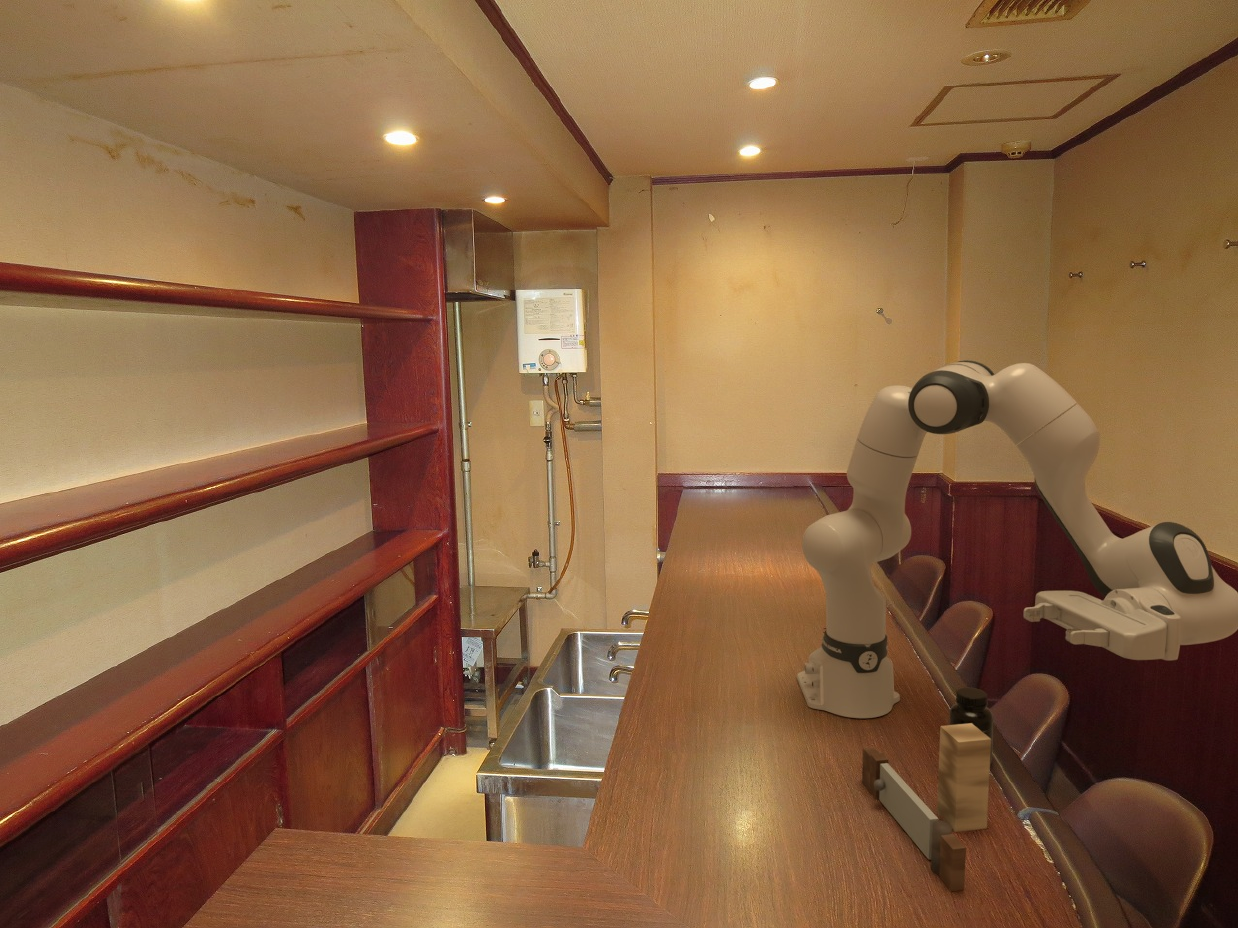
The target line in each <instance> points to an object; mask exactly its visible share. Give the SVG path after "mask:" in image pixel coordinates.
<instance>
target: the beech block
mask: <svg viewBox="0 0 1238 928" xmlns="http://www.w3.org/2000/svg"><path fill="white" fill-rule="evenodd" d="M990 752H991V739H990V738H989V737H988V736H987V735H985V734H984V733H983V732H982V731H981V730H979V729H978V728H977V727H976V726H974V725H973V724H972V723H968V724H957V725H949V724H947V725H941V726H940V728H939V752H938V754H939V755H938V774H937V776H938V777H937V780H938V781H937V800H936V801H937V804H936V813H937V815H939V816H940V818H941V820H942V821H945V822H947V823H949V824H950V825H951V826H952V832H954V833H959V832H966V831H968V832H969V831H976V830H977V831H978V830H984V829H985V830H986V829H987V828H988V827H987V826H988V810H989V793H990V792H989V791H990V789H989V788H990V787H989V786H990V769H991V768H990V767H991V764H990Z"/></svg>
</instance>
